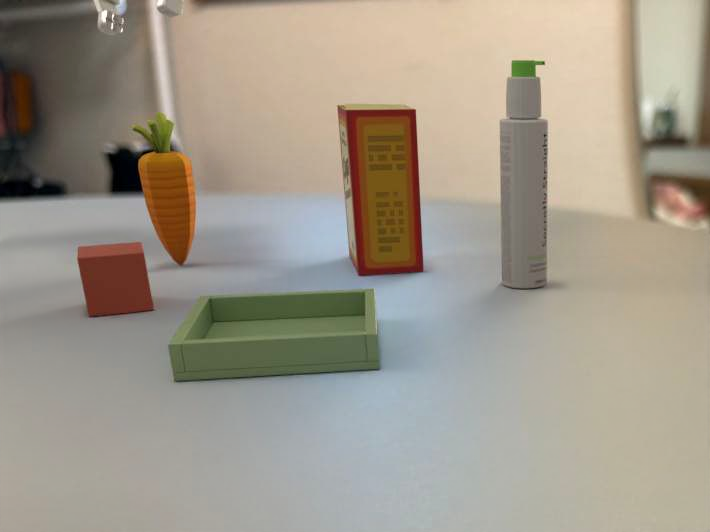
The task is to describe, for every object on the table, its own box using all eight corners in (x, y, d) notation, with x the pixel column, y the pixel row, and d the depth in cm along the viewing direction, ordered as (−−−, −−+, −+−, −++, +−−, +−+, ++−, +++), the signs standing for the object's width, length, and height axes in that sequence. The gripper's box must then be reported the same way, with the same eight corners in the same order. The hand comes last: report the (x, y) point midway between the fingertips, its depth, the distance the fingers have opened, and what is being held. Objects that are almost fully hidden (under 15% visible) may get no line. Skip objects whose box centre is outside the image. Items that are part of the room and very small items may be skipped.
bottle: (525, 291, 79) (524, 60, 72) (492, 283, 82) (488, 60, 75) (556, 283, 82) (558, 60, 75) (523, 275, 85) (522, 60, 78)
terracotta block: (88, 317, 71) (76, 257, 69) (89, 302, 75) (77, 246, 73) (153, 310, 73) (143, 252, 71) (150, 296, 77) (141, 241, 75)
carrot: (183, 271, 86) (158, 115, 80) (144, 267, 87) (117, 114, 82) (216, 261, 90) (195, 112, 85) (178, 258, 92) (155, 111, 86)
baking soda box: (349, 255, 93) (337, 101, 87) (408, 252, 95) (400, 100, 89) (358, 275, 85) (345, 105, 79) (423, 271, 87) (415, 105, 81)
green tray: (173, 381, 57) (167, 344, 56) (205, 327, 68) (200, 295, 67) (379, 369, 59) (377, 333, 58) (376, 318, 71) (374, 288, 70)
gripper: (58, -105, 86) (46, 28, 86) (189, -167, 76) (176, -15, 75) (116, -71, 92) (105, 55, 91) (246, -124, 81) (234, 18, 81)
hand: (138, 23), depth 83 cm, fingers open, 8 cm apart
